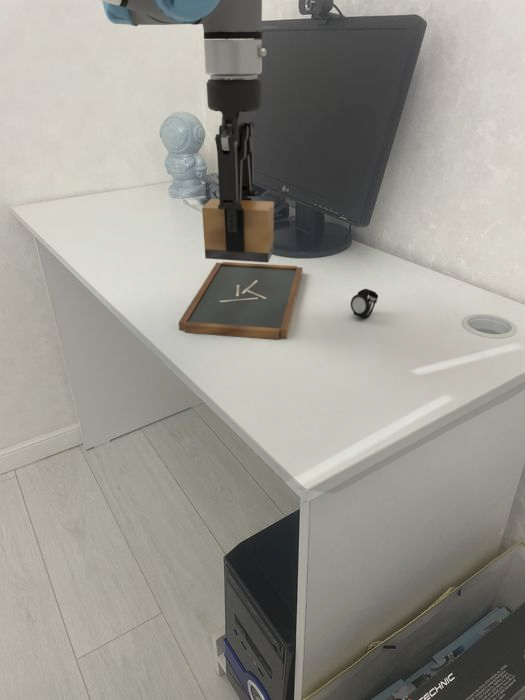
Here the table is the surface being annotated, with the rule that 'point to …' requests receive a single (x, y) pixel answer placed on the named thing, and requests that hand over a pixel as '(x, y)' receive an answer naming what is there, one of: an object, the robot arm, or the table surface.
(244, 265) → the slate board
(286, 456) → the table surface
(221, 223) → the eraser
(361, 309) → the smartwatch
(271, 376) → the table surface
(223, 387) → the table surface
